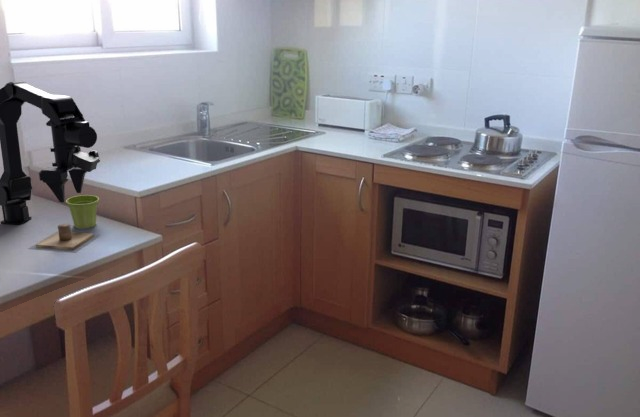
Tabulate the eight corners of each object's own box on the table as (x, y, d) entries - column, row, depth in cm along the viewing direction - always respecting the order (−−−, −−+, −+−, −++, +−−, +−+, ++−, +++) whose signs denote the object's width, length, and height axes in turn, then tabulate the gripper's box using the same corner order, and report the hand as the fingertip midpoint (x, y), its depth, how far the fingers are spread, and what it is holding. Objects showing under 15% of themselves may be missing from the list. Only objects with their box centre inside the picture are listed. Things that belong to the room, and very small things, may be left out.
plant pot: (107, 222, 182) (104, 195, 179) (92, 232, 173) (90, 204, 170) (78, 220, 182) (75, 194, 180) (63, 230, 173) (59, 203, 171)
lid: (36, 247, 159) (34, 230, 158) (58, 233, 170) (56, 218, 168) (73, 250, 158) (71, 233, 157) (93, 236, 168) (92, 220, 167)
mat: (28, 250, 158) (27, 248, 158) (57, 232, 171) (57, 231, 171) (75, 254, 157) (75, 252, 156) (101, 236, 170) (101, 234, 170)
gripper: (75, 151, 149) (81, 209, 154) (108, 138, 166) (112, 190, 171) (34, 149, 150) (41, 206, 155) (71, 136, 168) (77, 188, 172)
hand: (70, 197), depth 163 cm, fingers open, 9 cm apart
